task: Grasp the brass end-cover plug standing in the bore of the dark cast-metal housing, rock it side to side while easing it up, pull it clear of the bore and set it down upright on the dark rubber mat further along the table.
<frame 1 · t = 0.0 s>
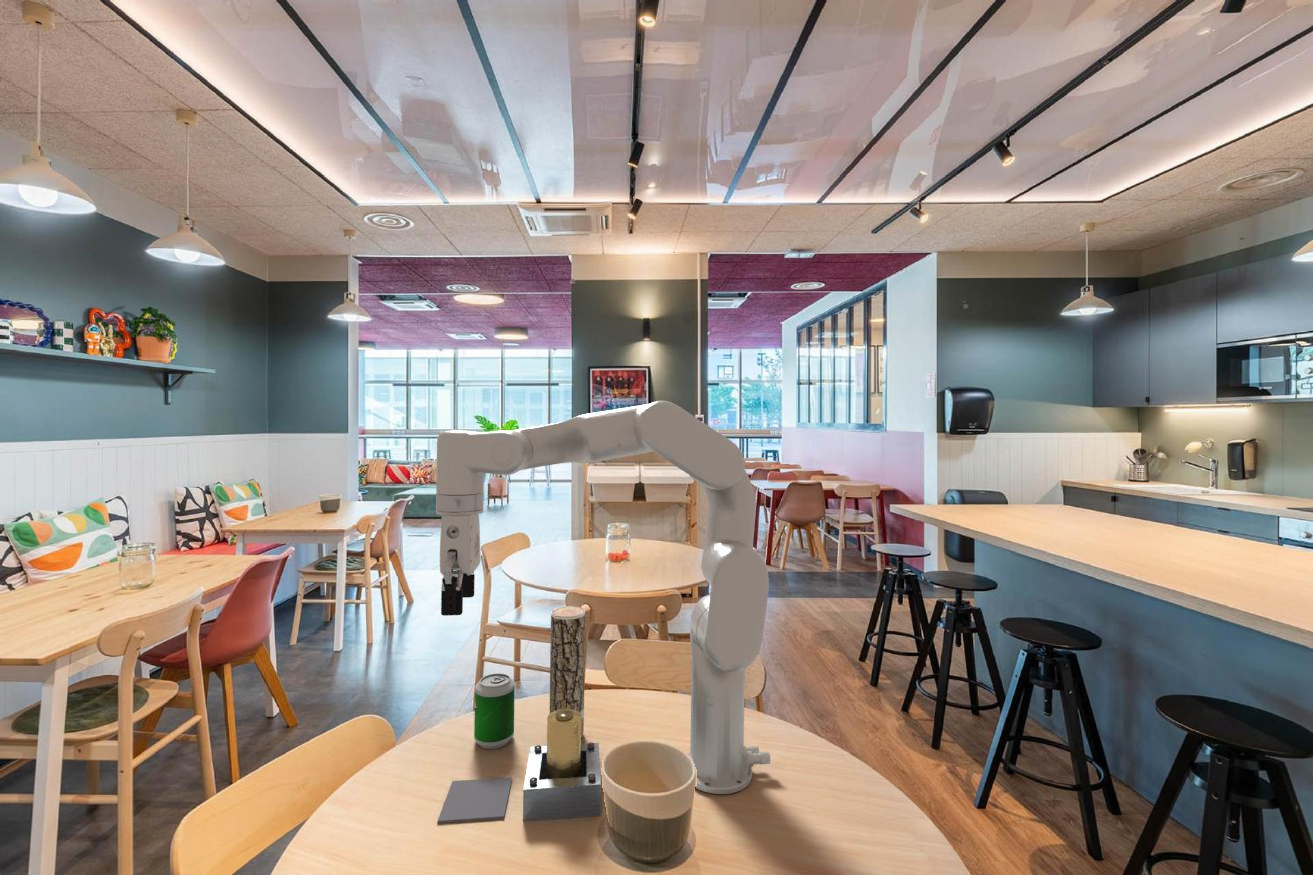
hand: (458, 605, 94), 31 cm above the table, fingers open, 9 cm apart
brass cover: (563, 794, 93), resting in housing
paper tube: (566, 737, 111), on the table
rubber mat: (477, 799, 92), on the table
housing: (563, 794, 93), on the table
soda can: (494, 741, 109), on the table
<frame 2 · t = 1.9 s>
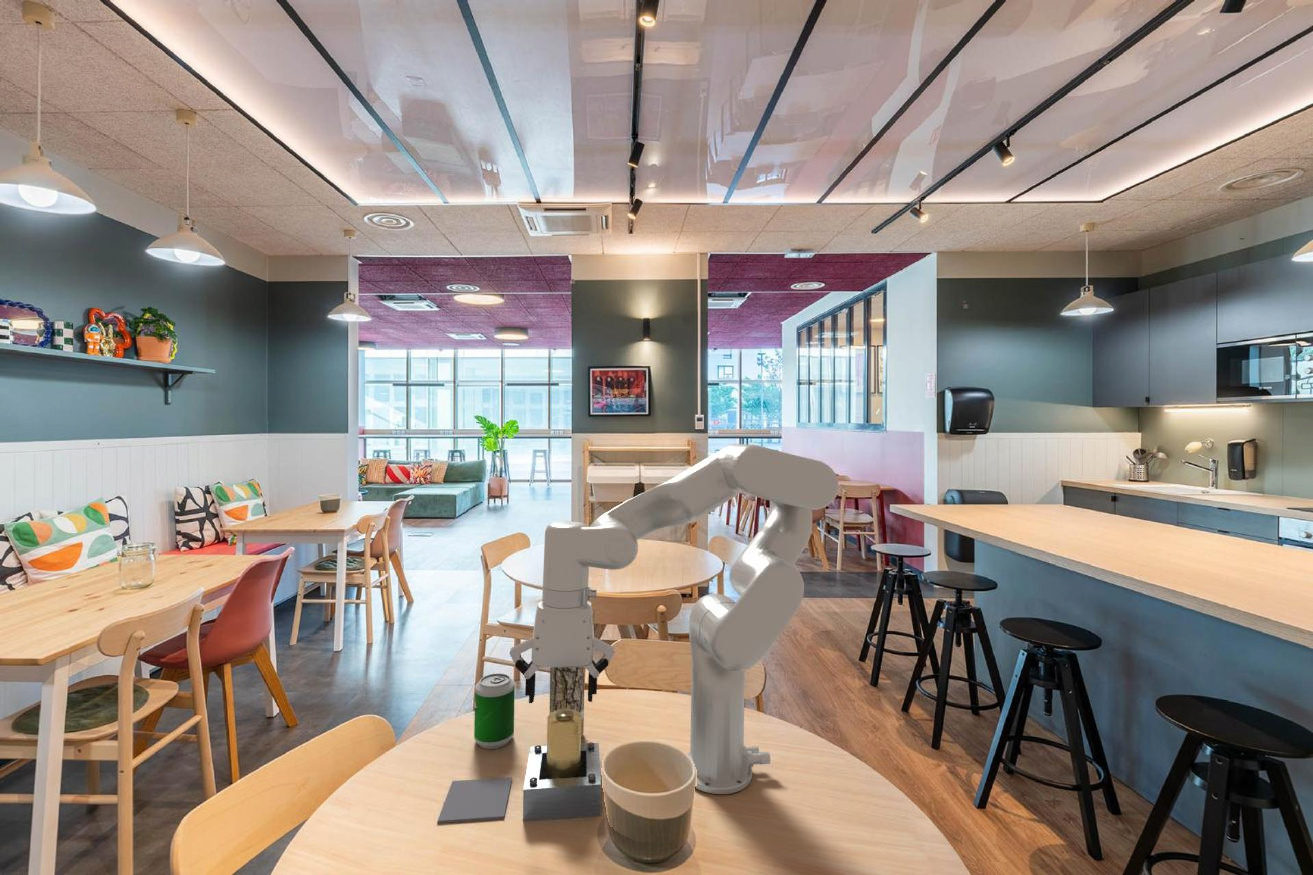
hand: (561, 698, 93), 16 cm above the table, fingers open, 9 cm apart
nothing on the table moved.
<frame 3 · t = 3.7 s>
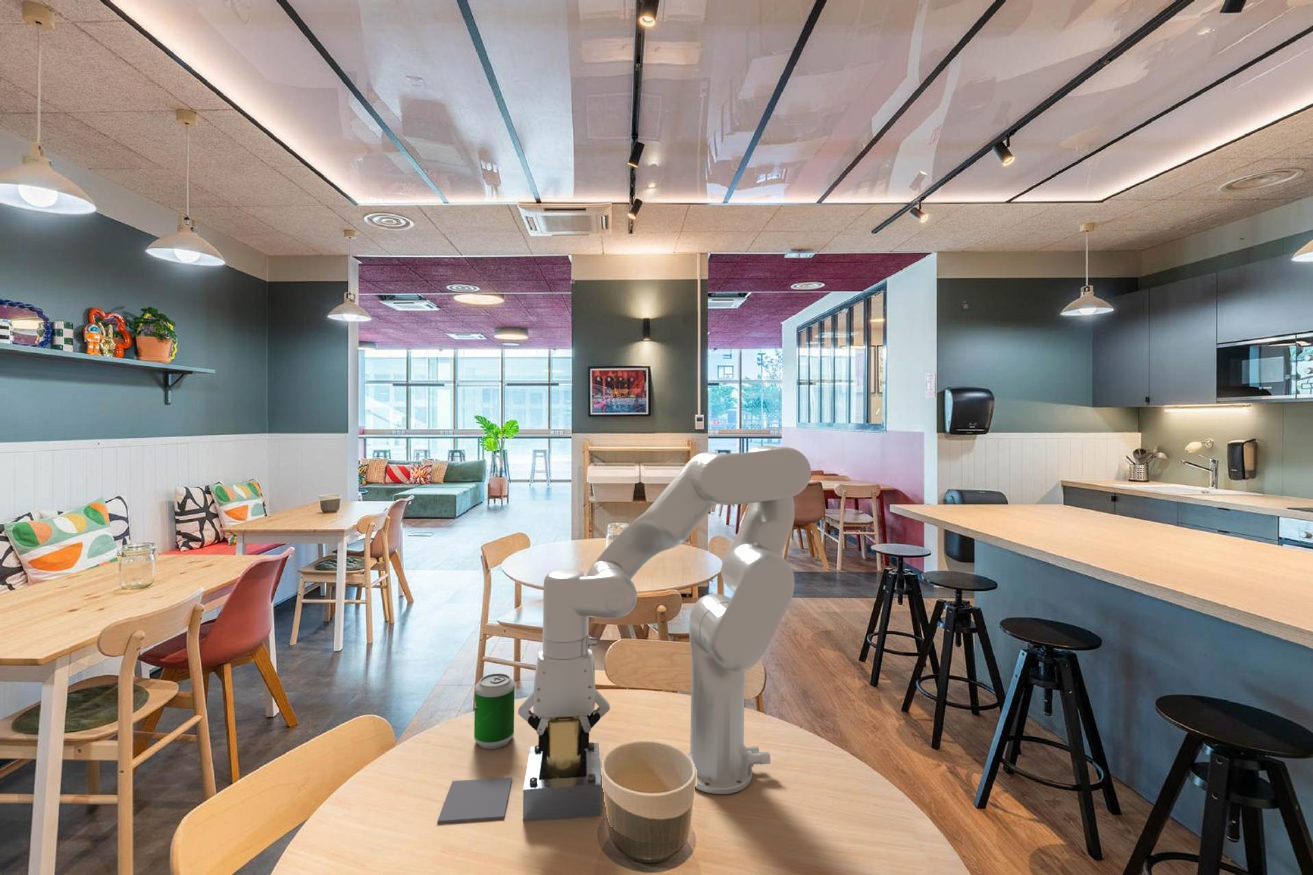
hand: (563, 752, 93), 7 cm above the table, fingers closed on brass cover, 5 cm apart
brass cover: (563, 794, 93), resting in housing, touching gripper
everything else where it was.
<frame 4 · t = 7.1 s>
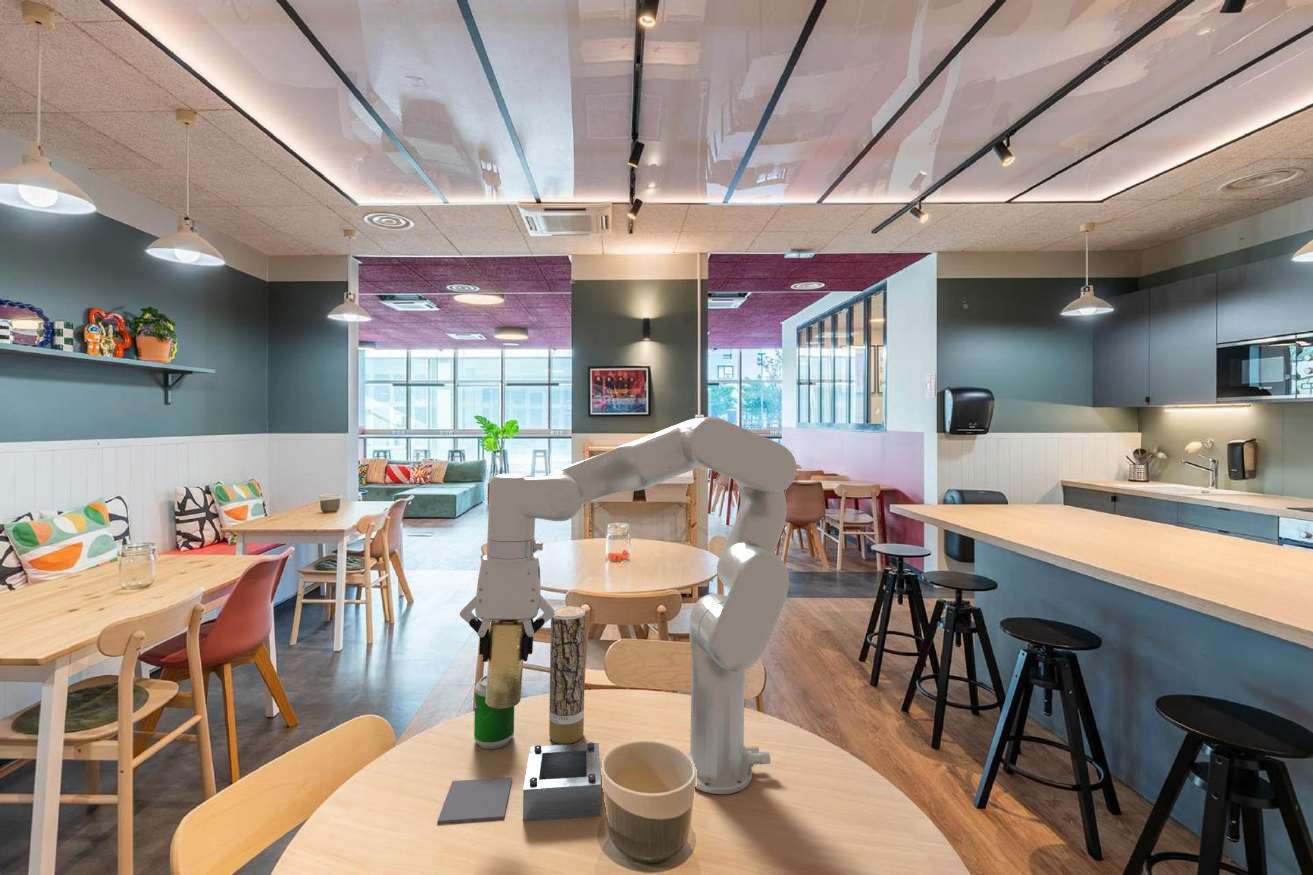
hand: (506, 657, 92), 23 cm above the table, fingers closed on brass cover, 5 cm apart
brass cover: (503, 700, 92), point 16 cm above the table, touching gripper
everything else where it was.
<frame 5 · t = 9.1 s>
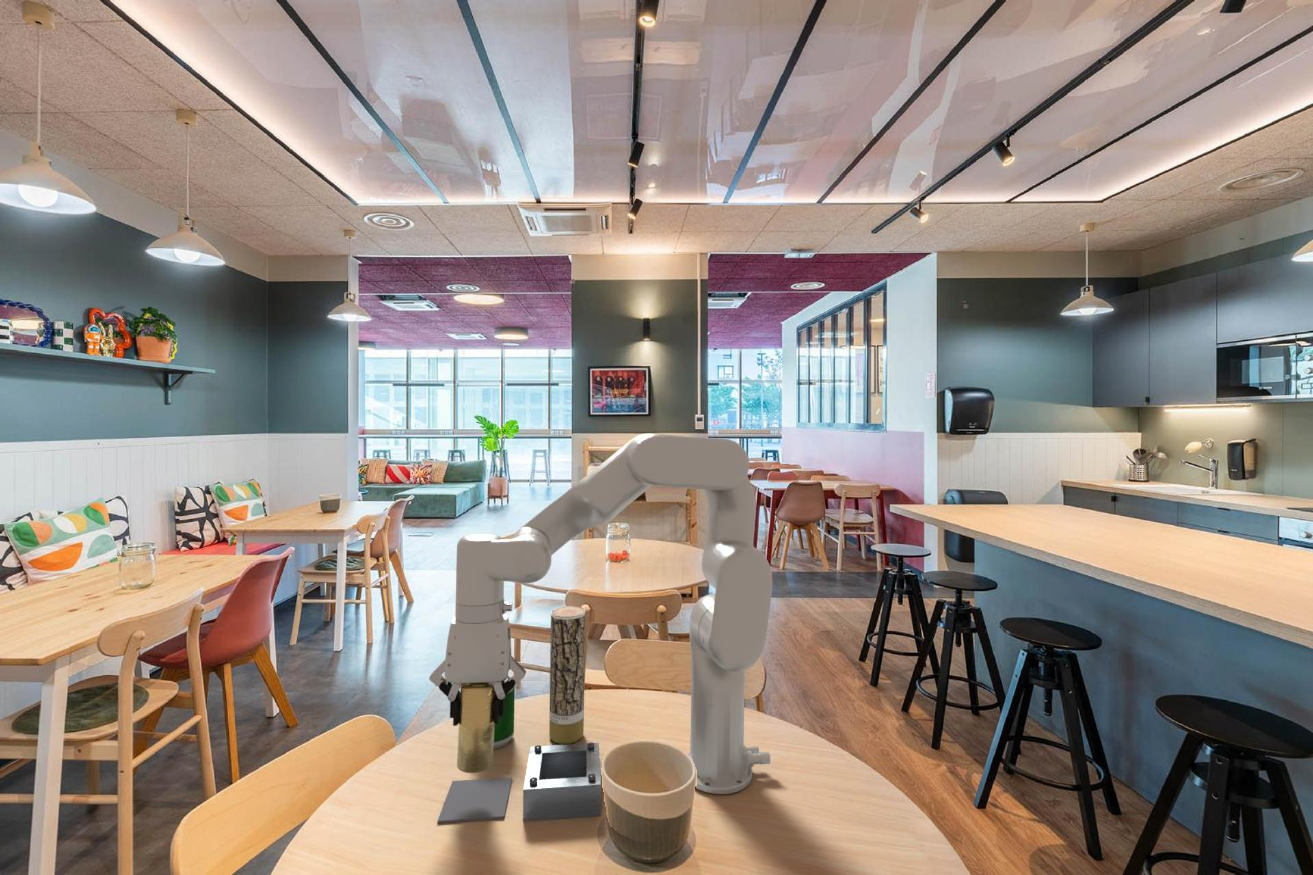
hand: (477, 719, 91), 13 cm above the table, fingers closed on brass cover, 5 cm apart
brass cover: (475, 762, 91), point 6 cm above the table, touching gripper
everything else where it was.
when the fingers open (8 cm above the table, at t = 10.9 s): brass cover stays where it is, resting on rubber mat.
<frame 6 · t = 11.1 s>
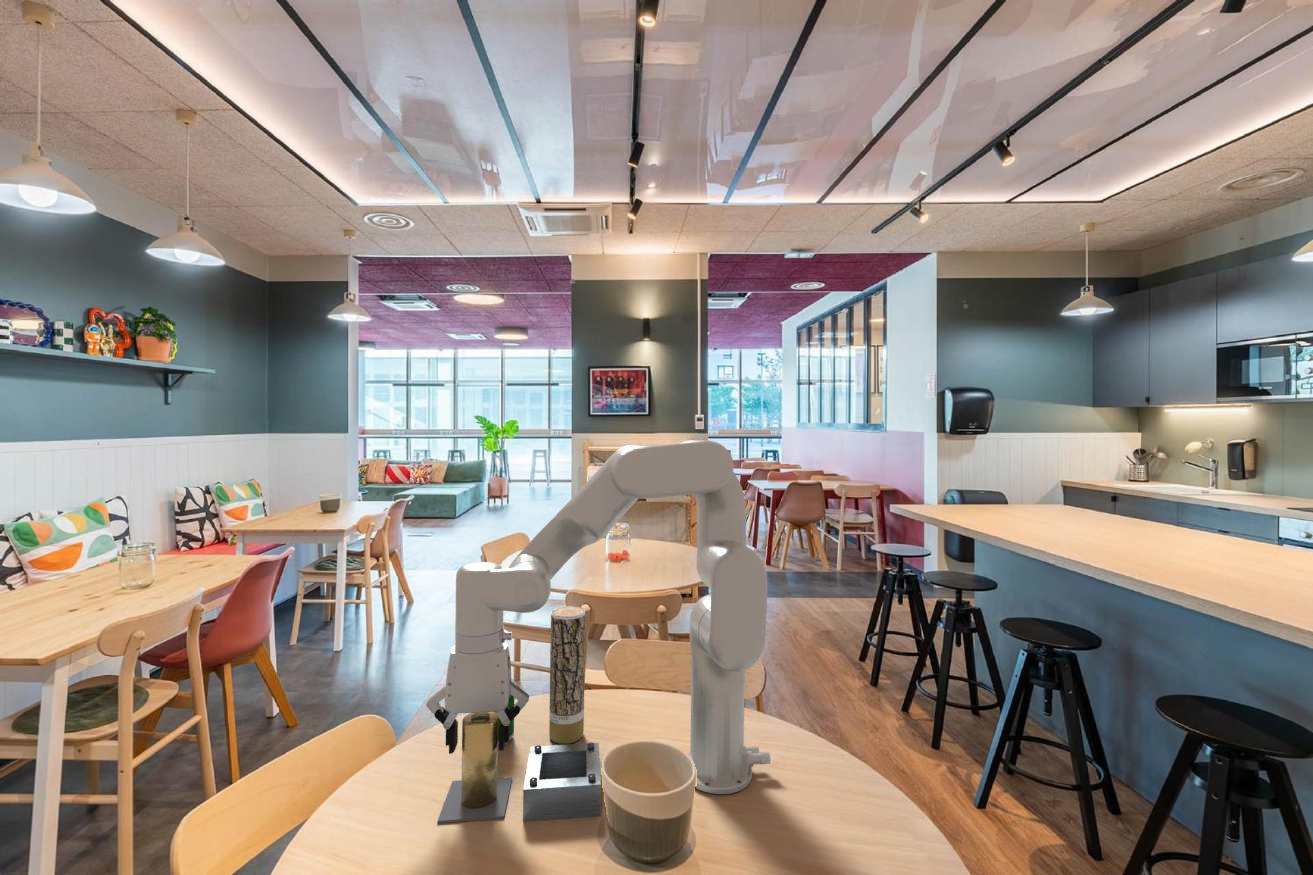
hand: (477, 746, 92), 9 cm above the table, fingers open, 7 cm apart
brass cover: (479, 797, 92), resting on rubber mat
everything else where it was.
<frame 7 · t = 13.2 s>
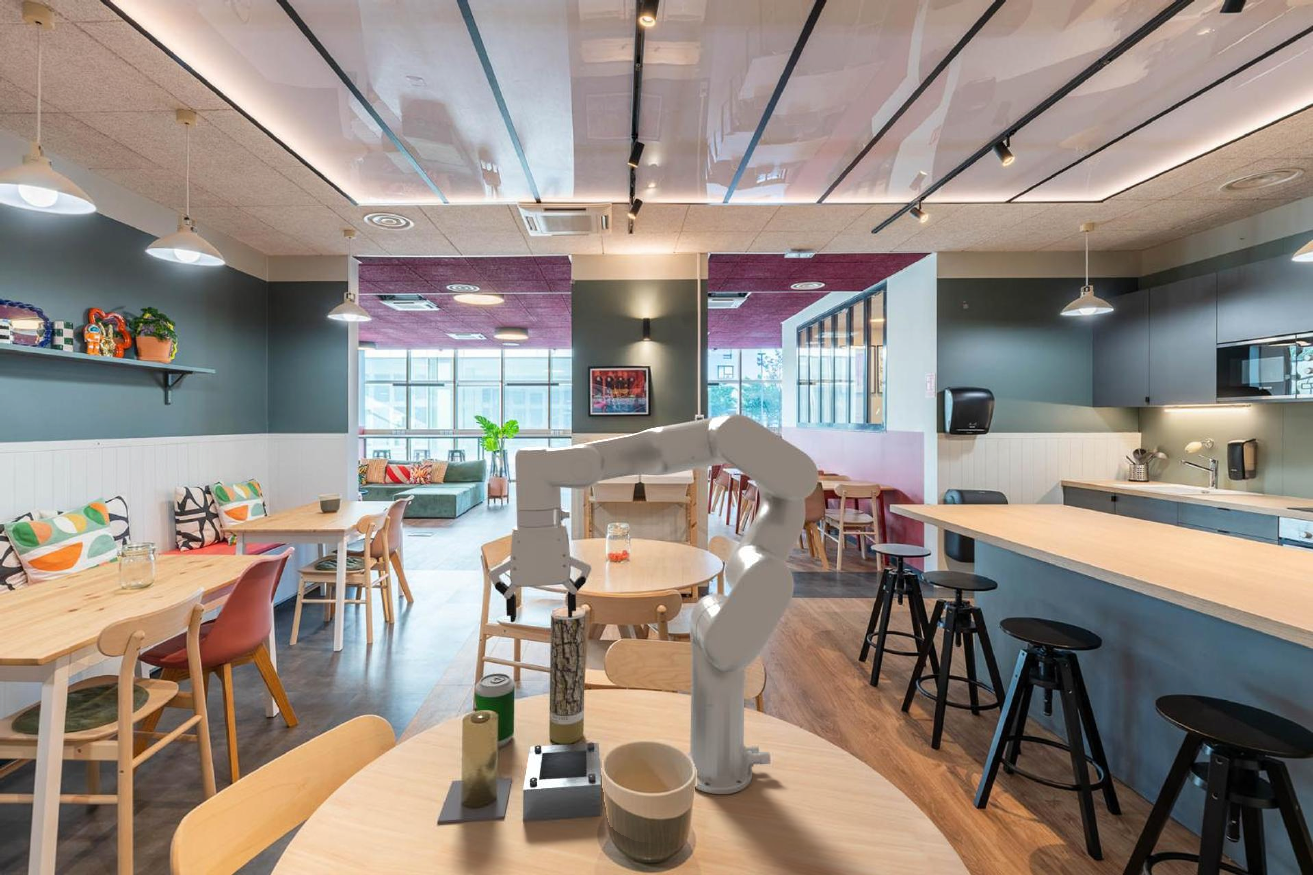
hand: (542, 617, 96), 29 cm above the table, fingers open, 9 cm apart
nothing on the table moved.
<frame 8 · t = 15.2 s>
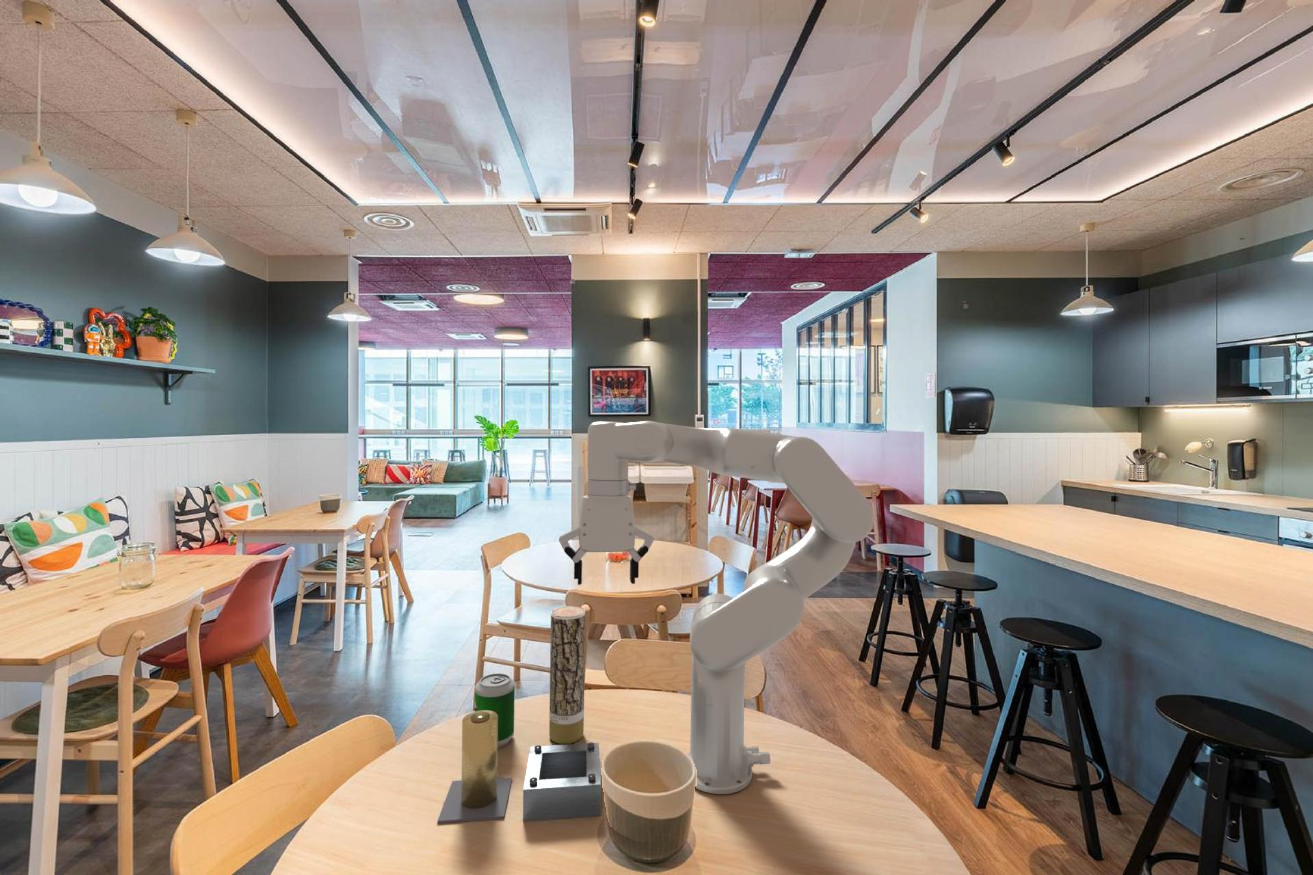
hand: (606, 582, 102), 33 cm above the table, fingers open, 9 cm apart
nothing on the table moved.
at the end: brass cover inside the target area on the rubber mat (0.4 cm from its centre), point 0.4 cm above the rubber mat's base; brass cover tilted 0°; brass cover touching rubber mat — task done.
